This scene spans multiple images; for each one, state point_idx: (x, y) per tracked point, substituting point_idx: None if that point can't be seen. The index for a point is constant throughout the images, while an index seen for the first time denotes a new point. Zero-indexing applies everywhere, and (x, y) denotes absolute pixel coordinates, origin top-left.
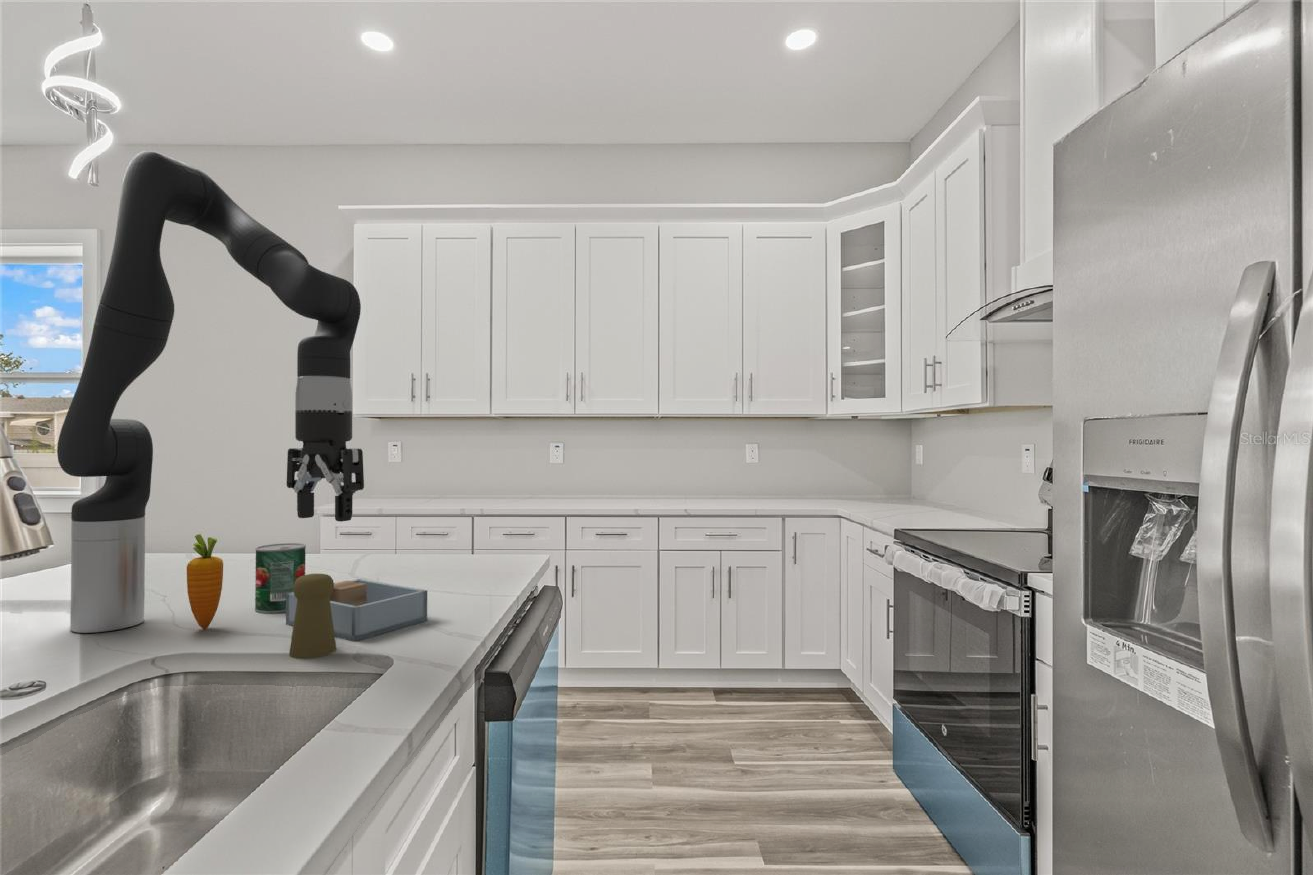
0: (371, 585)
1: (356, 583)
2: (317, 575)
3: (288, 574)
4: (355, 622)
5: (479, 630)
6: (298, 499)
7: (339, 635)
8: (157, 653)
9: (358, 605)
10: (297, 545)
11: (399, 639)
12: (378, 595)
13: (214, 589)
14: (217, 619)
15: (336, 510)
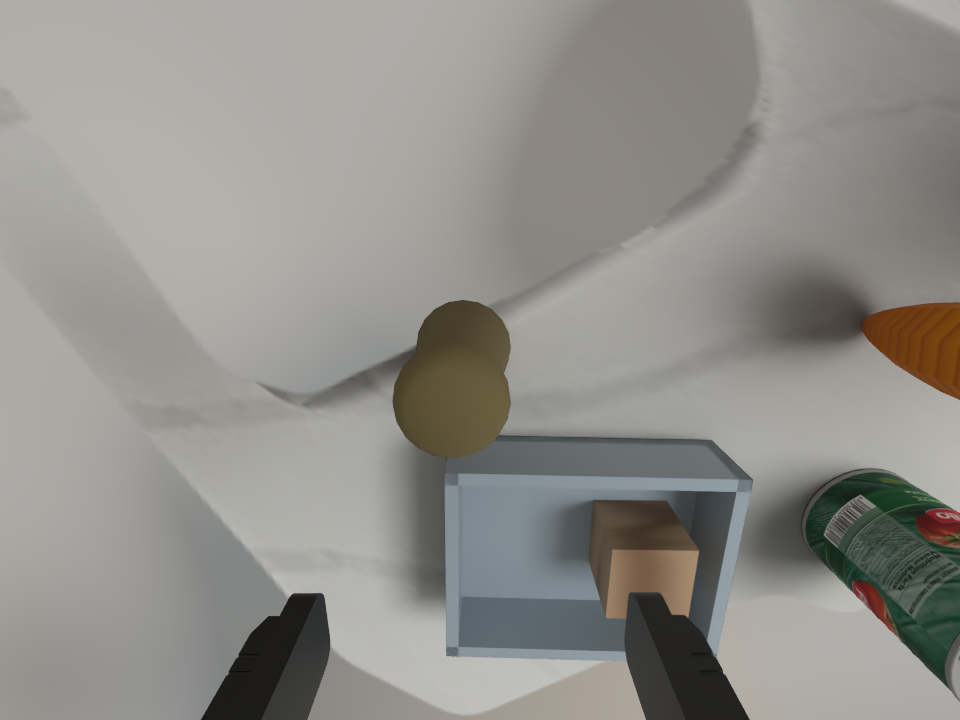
0: None
1: None
2: (427, 414)
3: (883, 573)
4: None
5: None
6: (699, 692)
7: (505, 437)
8: (780, 151)
9: (594, 558)
10: None
11: (385, 486)
12: (611, 624)
13: (926, 355)
14: (917, 386)
15: (285, 639)
